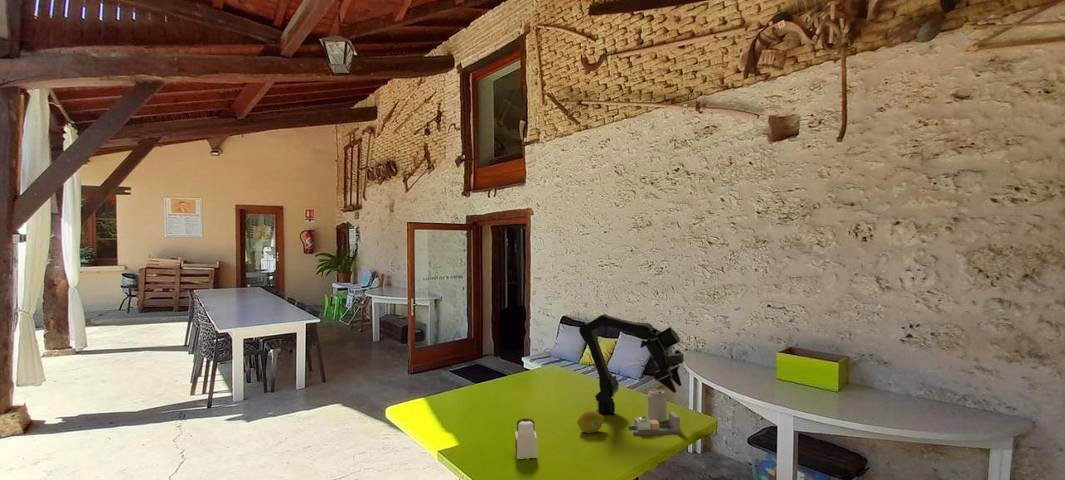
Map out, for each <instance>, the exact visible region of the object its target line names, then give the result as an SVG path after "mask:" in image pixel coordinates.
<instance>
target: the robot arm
mask: <svg viewBox="0 0 1065 480" xmlns="http://www.w3.org/2000/svg"><path fill="white" fill-rule="evenodd" d="M603 326H607V327H610V328H614V329H617V330H621V331H624V332H626V333H630V334H631V335H633V336H635V337H637V338H638V339H641V343H640V348H644V347H645V348H646V349H647V351H648V353H649V355H650V356H651V362H654V364H655V365H656V367H657V368H656V371H654V373H653V378H654V380H655V381H657V382H658V383H660V384H662V385H663V386H664V387H666V388H667V389H668V390H670V391H671V392H672V393H673V394H674V393H676V392H677V389H676V386H675V384H676V385H677V386H678V387H681V386H682V382H681V378H680V374H679V368H680V365H681V364H683V363H684V362H685V358H684V357H685V354H684V353H683V352H682V351H681V350H680V349H676V350H674V352H672V353H669V351H667V350H665V349H664V348H666V349H668V348H671V347H673V346H675V345H677V344H678V343H680V342H681V340H680V337H679V334H678V333H677V332H676V330H674V329H673V328H672V326H669V327H667V328H666V329H664V330H662V331H661V330H659V329H657V328H654V327H653V324H652V323H649V322H634V321H633V322H632V321H630V320H625V319H623V318H618V317H615V316H611V315H607V314H605V313H603V314H601V315H599V316H598V317H596V318H595V319H594V320H592V321H587V322H585V323H582V324H581V325H580V327H579V328H578V331H579V334H580V337H581V338H582V340H583V341H584V342H585V343H586V344H587V345H588V346H587V347H588V350H589V351H590V355H591V356H592V360H593V362H594V367H595V369H596V372H597V374H598V379H599V380H598V381H599V382H598V383H599V384H598V385H599V390H600V391H599V392H598V393H597V394H595V396H594V397H595V400H596V401H597V403H596V405H597V407H596V408H597V409H596V412H597V413H599V414H601V415H603V416H604V417H605V416H615V411H616V409H615V408H616V407H615V406H616V405H615V402H614V398H613V397H614V396H615V394H617V392H618V391H619V385H620V383H619V382H618V380H617V376H616V375H612V374H611V373H610V371H609V368H608V366H607V365H608V364H607V363H606V359H605V357H604V355H603V352H602V349H601V346H600V343H599V331H598V329H600V328H602V327H603ZM673 381H674V382H673Z"/></svg>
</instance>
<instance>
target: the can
mask: <svg viewBox="0 0 1065 480" xmlns="http://www.w3.org/2000/svg"><path fill="white" fill-rule="evenodd" d="M667 401H668V397H667V394H666V393H665V390H663V389H659V388H658V389H657V388H654V389H653V388H652V389H649V390H648V393H647V418H648V419H649V420H657V421H658V422H659V424H661V423H665V422H666V421H667V420H668V411H667V409H668V406H667V405H668V404H667Z"/></svg>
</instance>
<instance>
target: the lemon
mask: <svg viewBox="0 0 1065 480" xmlns="http://www.w3.org/2000/svg"><path fill="white" fill-rule="evenodd" d="M604 423H605V416H603V415H601V414H599V413H598V412H597V411H594V410H586V411H583V412H582V413H581V414H580V415H579V417H578V420H577V421H576V424H577V425H578V427H579V428H580V430H581V431H582V432H584V433H586V434H593V433H596V432H598V431H600V429H601V428H602V426H603V425H604Z"/></svg>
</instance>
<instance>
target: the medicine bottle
mask: <svg viewBox="0 0 1065 480" xmlns="http://www.w3.org/2000/svg"><path fill="white" fill-rule="evenodd" d="M514 435H515V436H514V437H515V438H514V441H515V442H514V443H515V445H514V446H515V449H514V450H515V457H516V458H528V457H537V458H538V437H537V432H536V429H535V421H534V420H533V419H532V418H521V419H519V420H517V422H516V430H515V432H514ZM516 458H515V459H516Z"/></svg>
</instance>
